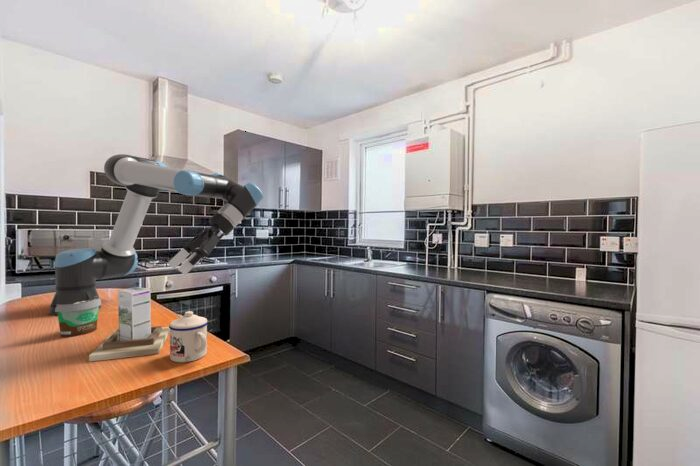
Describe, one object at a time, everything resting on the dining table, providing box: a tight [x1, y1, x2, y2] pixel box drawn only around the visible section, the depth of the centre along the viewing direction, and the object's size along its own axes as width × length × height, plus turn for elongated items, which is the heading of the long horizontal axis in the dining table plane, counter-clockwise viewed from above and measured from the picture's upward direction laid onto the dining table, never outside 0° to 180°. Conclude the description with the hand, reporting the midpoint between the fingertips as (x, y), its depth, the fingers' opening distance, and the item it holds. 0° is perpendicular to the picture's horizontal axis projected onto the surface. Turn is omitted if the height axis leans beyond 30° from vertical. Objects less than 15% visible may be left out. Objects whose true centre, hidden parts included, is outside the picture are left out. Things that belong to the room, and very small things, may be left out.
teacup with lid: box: [168, 310, 209, 363], centre depth 83 cm, size 12×9×12 cm
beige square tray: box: [88, 325, 170, 362], centre depth 90 cm, size 18×15×3 cm
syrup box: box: [117, 286, 152, 341], centre depth 90 cm, size 6×6×14 cm
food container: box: [55, 296, 102, 338], centre depth 99 cm, size 12×6×10 cm, turn 168°
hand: (175, 269), depth 96 cm, fingers open, 13 cm apart
